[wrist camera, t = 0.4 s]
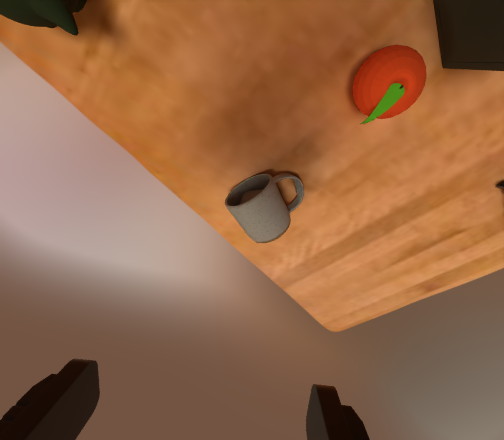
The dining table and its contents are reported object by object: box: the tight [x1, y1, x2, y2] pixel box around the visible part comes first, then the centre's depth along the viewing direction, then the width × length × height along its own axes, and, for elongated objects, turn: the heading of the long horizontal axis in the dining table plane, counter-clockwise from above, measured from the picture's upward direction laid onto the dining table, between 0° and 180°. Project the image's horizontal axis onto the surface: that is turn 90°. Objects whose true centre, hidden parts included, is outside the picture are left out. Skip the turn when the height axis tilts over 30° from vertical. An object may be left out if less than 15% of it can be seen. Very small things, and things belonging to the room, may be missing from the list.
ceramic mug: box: [225, 173, 304, 243], centre depth 35 cm, size 11×8×8 cm
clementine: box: [353, 45, 426, 124], centre depth 26 cm, size 8×7×7 cm
